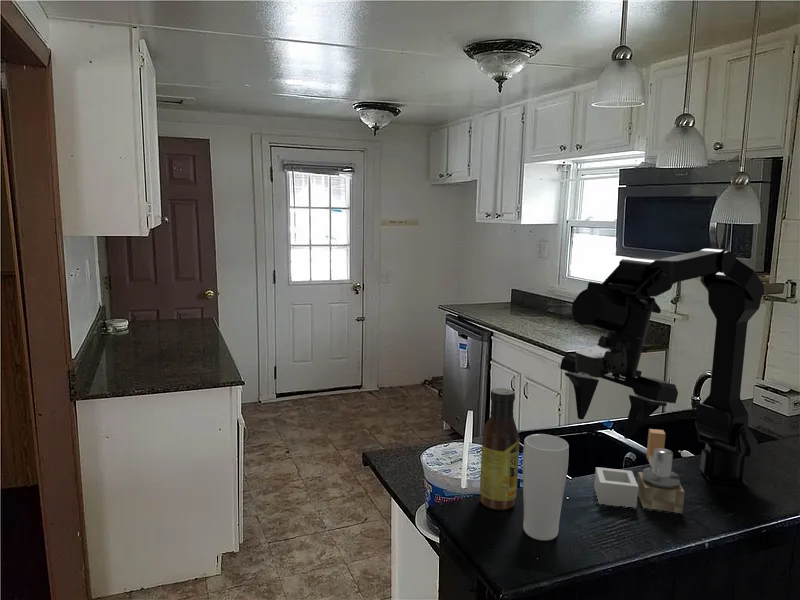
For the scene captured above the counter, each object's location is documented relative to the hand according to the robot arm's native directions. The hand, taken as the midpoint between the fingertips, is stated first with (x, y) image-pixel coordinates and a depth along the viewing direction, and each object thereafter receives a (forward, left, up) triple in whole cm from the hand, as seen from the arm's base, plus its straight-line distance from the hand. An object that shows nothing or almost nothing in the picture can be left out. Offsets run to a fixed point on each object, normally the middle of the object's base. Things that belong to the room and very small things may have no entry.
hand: (602, 428), depth 94 cm
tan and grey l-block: (-11, -12, -10) cm, 19 cm away
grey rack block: (-4, -7, -15) cm, 17 cm away
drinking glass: (+9, +8, -15) cm, 20 cm away
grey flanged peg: (-11, -7, -15) cm, 20 cm away
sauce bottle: (+16, 0, -15) cm, 22 cm away
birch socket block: (-11, -7, -15) cm, 20 cm away
